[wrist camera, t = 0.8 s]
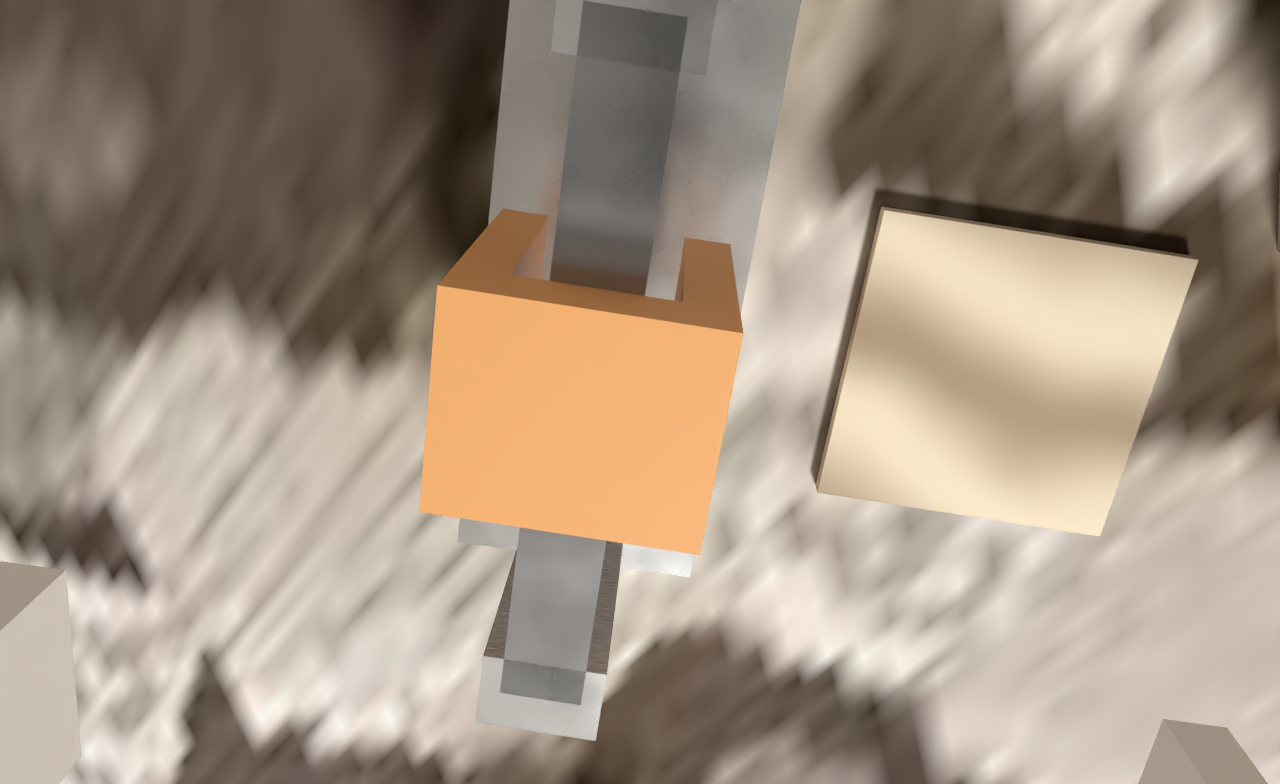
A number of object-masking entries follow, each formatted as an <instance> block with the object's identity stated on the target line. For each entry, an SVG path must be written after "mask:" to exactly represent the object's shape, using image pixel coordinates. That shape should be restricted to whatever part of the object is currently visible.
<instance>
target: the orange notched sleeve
mask: <svg viewBox="0 0 1280 784" xmlns="http://www.w3.org/2000/svg"><path fill="white" fill-rule="evenodd" d="M548 217H549V216H548V215H542V214H535V213H529V212H523V211H516V210H510V209H504V208H503V209H502V210H501V212H500V213H499V214H498V215H497V216H496V217H495V219H494V220H493V221H492V222H491V223H490V224H489V226H488V227H487V228H486V229H485V230H484V231H483V233H482V234H481V235H480V236H479V237H478V238H477V240H476V241H475V242H474V243H473V244H472V245H471V247H470V248H469V249H468V250H467V251H466V252H465V254H464V255H463V256H462V257H461V258H460V259H459V261H458V262H457V263H456V264H455V265H454V266H453V268H452V269H451V270H450V271H449V272H448V273H447V275H446V276H445V277H444V278H443V279H442V280H441V282H440V283H439V284H438V285H437V295H436V308H435V321H434V333H433V346H432V358H431V371H430V384H429V396H428V409H427V421H426V434H425V447H424V459H423V472H422V484H421V497H420V510H419V512H424V513H431V514H437V515H444V516H450V517H456V518H463V519H469V520H476V521H482V522H489V523H495V524H502V525H508V526H515V527H521V528H527V529H534V530H540V531H547V532H553V533H560V534H566V535H573V536H579V537H586V538H592V539H599V540H605V541H611V542H618V543H624V544H631V545H637V546H644V547H650V548H657V549H663V550H670V551H676V552H682V553H689V554H695V555H700V552H701V547H702V542H703V537H704V531H705V526H706V521H707V516H708V511H709V506H710V501H711V496H712V490H713V485H714V480H715V475H716V470H717V465H718V460H719V455H720V450H721V444H722V439H723V434H724V429H725V424H726V419H727V414H728V409H729V404H730V398H731V393H732V388H733V383H734V378H735V373H736V368H737V363H738V358H739V352H740V347H741V342H742V337H743V328H742V321H741V315H740V308H739V301H738V294H737V287H736V280H735V273H734V266H733V260H732V253H731V246H730V244H725V243H719V242H713V241H706V240H700V239H694V238H687V237H685V240H684V246H683V252H682V258H681V264H680V270H679V276H678V282H677V287H676V293H675V299H674V300H667V299H661V298H655V297H648V296H642V295H636V294H629V293H623V292H616V291H610V290H604V289H597V288H591V287H585V286H578V285H572V284H566V283H559V282H553V281H547V280H541V277H542V268H543V260H544V251H545V243H546V234H547V226H548Z"/></svg>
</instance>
